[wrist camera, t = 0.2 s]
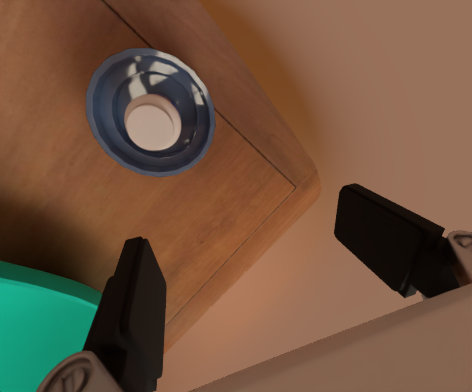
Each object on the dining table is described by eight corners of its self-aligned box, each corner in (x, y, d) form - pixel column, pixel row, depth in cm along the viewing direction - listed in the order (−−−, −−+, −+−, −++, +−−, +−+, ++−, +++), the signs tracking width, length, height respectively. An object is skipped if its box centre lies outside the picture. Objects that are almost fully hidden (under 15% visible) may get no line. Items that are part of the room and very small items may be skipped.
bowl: (126, 27, 23) (114, 12, 18) (226, 99, 28) (235, 100, 24) (85, 134, 26) (67, 143, 22) (182, 179, 32) (183, 192, 27)
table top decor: (-186, 192, 22) (-578, 301, 11) (105, 182, 29) (59, 242, 18) (-14, 380, 39) (-93, 498, 28) (142, 346, 46) (131, 429, 35)
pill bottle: (174, 89, 26) (173, 89, 17) (185, 133, 28) (188, 151, 20) (129, 96, 25) (105, 99, 17) (144, 141, 28) (130, 163, 19)
